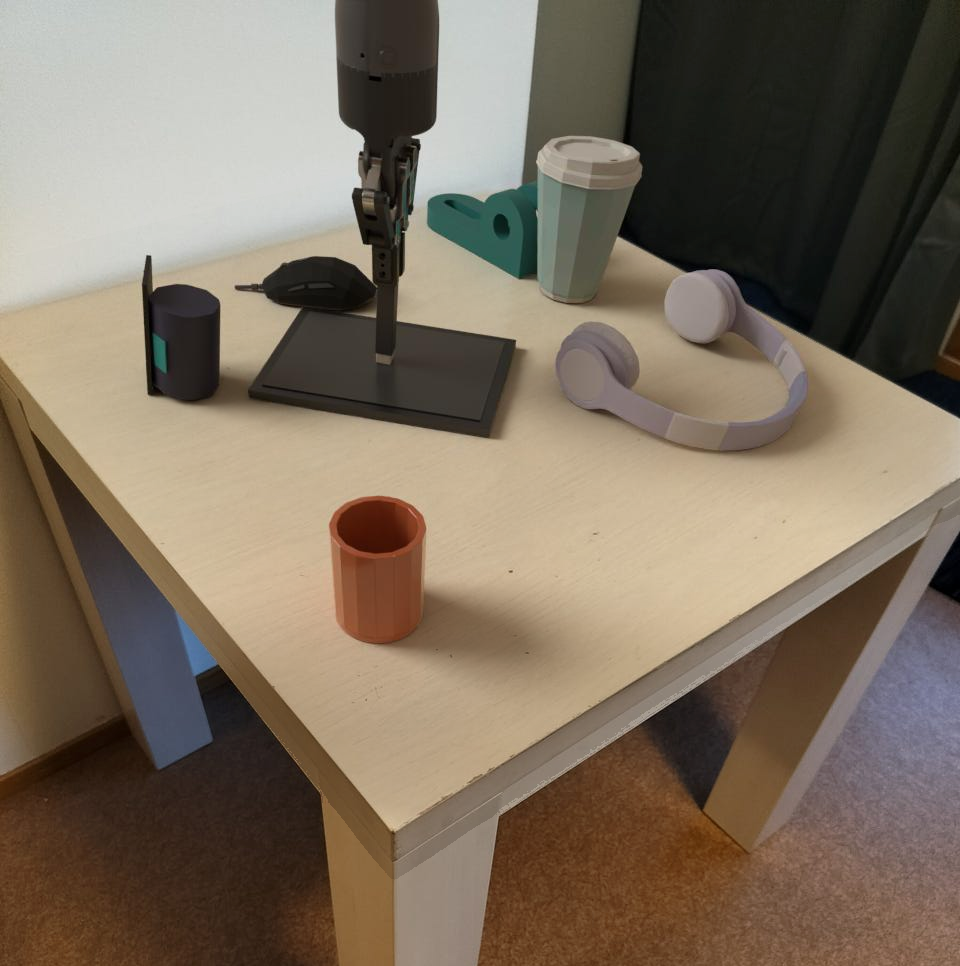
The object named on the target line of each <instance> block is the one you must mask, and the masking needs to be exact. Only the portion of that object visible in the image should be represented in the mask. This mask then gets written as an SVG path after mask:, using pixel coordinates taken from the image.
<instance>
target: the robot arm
mask: <svg viewBox="0 0 960 966" xmlns="http://www.w3.org/2000/svg"><path fill="white" fill-rule="evenodd" d="M334 1H335V2H334V32H335V56H336V81H337V83H336V84H337V101H338V102H337V103H338V104H337V105H338V106H337V107H338V116H339V118H340V120H341V122H342V123H343V124H344V125H345V126H346V127H347V128H349V129H350V130H354V131H356V132H357V133H359V134H360V135H361V136H362V138H363V141H364V143H363V145H362V146H363V149H362V150H359V152H358V157H357V174H358V176H359V177H360V181H361V182H360V183H361V186H360V187H354V188H353V190H352V193H351V200H352V205H353V210H354V213H355V217H356V221H357V225H358V226H357V227H358V230H359V234H360V238H361V242H362V245H364V246H371V277H372V278H371V281H372V283H373V284H374V285H375V286H376V287H377V286H380V287H387V288H395V287H396V286H397V284H398V282H399V283H400V278H401V277H403V274H404V273H405V271H406V232H407V231H408V228H409V225H410V221H409V216H412V215H413V212H414V208H415V206H414V202H415V193H416V183H417V175H418V168H419V167H418V165H419V158H420V151H421V148H422V144H421V139H420V138H417V137H416V136H419V135H422V134H424V133H427V132H428V131H430V130H431V129H432V128H433V127H434V125H435V124H436V121H437V113H438V81H439V78H438V77H439V52H440V51H439V50H440V49H439V48H440V9H439V8H440V7H439V0H334ZM415 137H416V138H415ZM400 220H401V221H402V222H401V238H400ZM400 239H401V242H400ZM399 243H400V263H399ZM398 285H399V284H398Z"/></svg>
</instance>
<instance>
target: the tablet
mask: <svg viewBox="0 0 960 966" xmlns="http://www.w3.org/2000/svg"><path fill="white" fill-rule="evenodd" d="M375 337H376V317H373V316H366V315H361V314H355V313H349V312H342V311H337V310H331V309H322V308H314V307H304V306H301V309H300V310H299V312H298V313H297V315H296V316H295V318H294V319H293V321H292V322H291V324H290V325H289V327H288V328H287V330H286V331H285V332H284V334H283V335H282V338H281V339H280V340H279V342H278V344H277V345H276V346H275V348H274V349H273V351H272V353H271V354H270V355H269V357H268V359H267V360H266V361H265V363H264V365H263V366H262V367H261V370H259V372H258V374H257V375H256V377H255V378H254V380H253V381H252V382H251V384H250V385H249V388H248V389H247V392H248V393H247V394H248V399H249V400H257V401H262V402H268V403H275V404H280V405H287V406H292V407H293V406H294V407H298V408H299V407H300V408H305V409H311V410H317V411H322V412H323V411H324V412H330V413H335V414H336V413H337V414H342V415H348V416H353V417H354V416H355V417H361V418H366V419H372V420H378V421H383V422H384V421H385V422H390V423H396V424H402V425H408V426H415V427H421V428H426V429H431V430H432V429H433V430H437V431H438V430H439V431H445V432H450V433H457V434H462V435H463V434H464V435H469V436H475V437H482V438H487V439H488V438H490V434H491V432H492V428H493V426H494V422H495V418H496V415H497V412H498V408H499V405H500V401H501V398H502V394H503V391H504V388H505V384H506V382H507V377H508V376H509V375H508V374H509V371H510V368H511V365H512V361H513V358H514V354H515V351H516V348H517V347H516V346H517V339H515V338H507V337H501V336H495V335H490V334H489V335H488V334H483V333H482V334H481V333H475V332H469V331H462V330H456V329H450V328H445V327H444V328H443V327H437V326H431V325H425V324H418V323H412V322H405V321H400V320H397V325H396V346H395V350H394V358H393V360H392V362H391V364H390V365H388V364H383V363H378V362H376V353H375Z"/></svg>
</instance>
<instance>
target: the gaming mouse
mask: <svg viewBox="0 0 960 966" xmlns="http://www.w3.org/2000/svg"><path fill="white" fill-rule="evenodd" d="M234 289H235V290H252V291H259V290H260V291H262V292H263V293H264V295H265V298H267V299H268V300H270V301H273V302H274V303H278V304H280V305H285V306H286V305H287V306H288V305H289V306H295V307H303V306H304V307H311V308H317V309H323V310H330V311H344V310H352V309H353V310H354V309H357V308H360V307H361V306H363V305H366V304H367V303H368V302H371V301H372V300H375V297H376V296H377V286H376V285H375V284H374V283H373V281H372V280H371V279H369V277H367V275H365V274H364V273H363V272H362V271H361V269H360V268H359V267H357V266H356V265H355V264H353V263H351V262H349V261H346V260H344V259H341V258H339V257H336V256H319V255H314V256H308V257H303V258H298V259H295V260H291V261H290V262H286V261H285V262H282V263H281V264H280V265H279V267H277V269H275V270H273V271H272V272H271V273H269V274H268V275H267V276H266V277H264V278H263V280H262V282H261V283H251V284H235V285H234Z"/></svg>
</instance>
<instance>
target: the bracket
mask: <svg viewBox="0 0 960 966" xmlns="http://www.w3.org/2000/svg"><path fill="white" fill-rule="evenodd" d="M426 209H427V210H426V212H427V213H426V225H427V227H428V228H429V229H430V230H431V231H433V232H435V233H437V234H438V235H440V236H442V237H444V238H445V239H447V240H448V241H451V242H453V243H454V244H456V245H458V246H460V247H461V248H463V249H464V250H467V251H469V252H470V253H472V254H474V255H476V256H477V257H479V258H481V259H482V260H485V261H486V262H488V263H490V264H491V265H493V266H495V267H496V268H499V269H500V270H502V271H504V272H506V273H508V274H509V275H511V276H513V277H515V278H516V279H518V280H520V279H522V278H525V277H527V276H530V275H533V274H536V273H538V214H537V213H538V180H535V181H532V182H529V183H526V184H522V185H520V186H518V187H517V188H509V189H505V190H501V191H498V192H495V193H492V194H490V195H489V196H487V198H486V199H485V200H484V201H482V200H480V199H478V198H476V197H473V196H471V195H467V194H462V193H453V192H452V193H440V194H437V195H436V194H435V195H433V196H432V197H430V198H429V199H428V200H427V207H426Z"/></svg>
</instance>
